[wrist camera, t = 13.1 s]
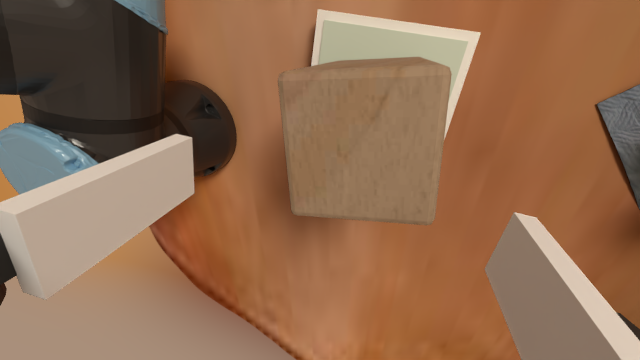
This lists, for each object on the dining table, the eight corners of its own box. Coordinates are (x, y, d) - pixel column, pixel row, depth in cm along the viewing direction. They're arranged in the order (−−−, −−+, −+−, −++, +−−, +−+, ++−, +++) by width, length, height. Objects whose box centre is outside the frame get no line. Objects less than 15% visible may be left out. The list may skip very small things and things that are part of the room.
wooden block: (337, 141, 39) (289, 217, 21) (335, 60, 35) (274, 72, 18) (416, 142, 37) (434, 228, 19) (423, 56, 33) (454, 64, 15)
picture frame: (307, 146, 45) (299, 154, 41) (324, 12, 37) (317, 8, 34) (427, 172, 42) (429, 183, 39) (472, 34, 34) (481, 32, 31)
